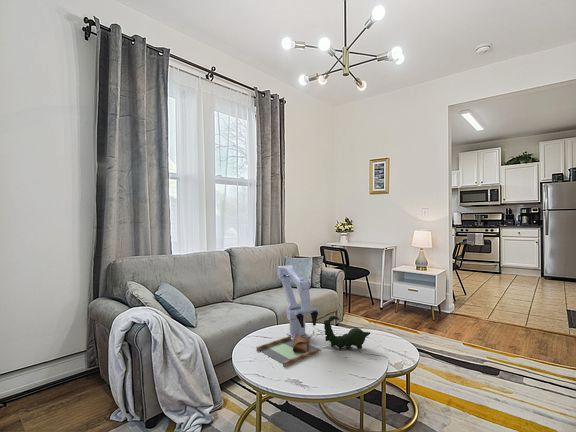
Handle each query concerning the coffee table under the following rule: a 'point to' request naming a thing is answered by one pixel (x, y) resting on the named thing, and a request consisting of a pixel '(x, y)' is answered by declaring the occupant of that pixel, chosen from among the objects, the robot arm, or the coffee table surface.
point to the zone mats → (284, 351)
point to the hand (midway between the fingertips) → (308, 326)
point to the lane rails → (292, 358)
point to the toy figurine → (344, 336)
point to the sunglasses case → (300, 344)
